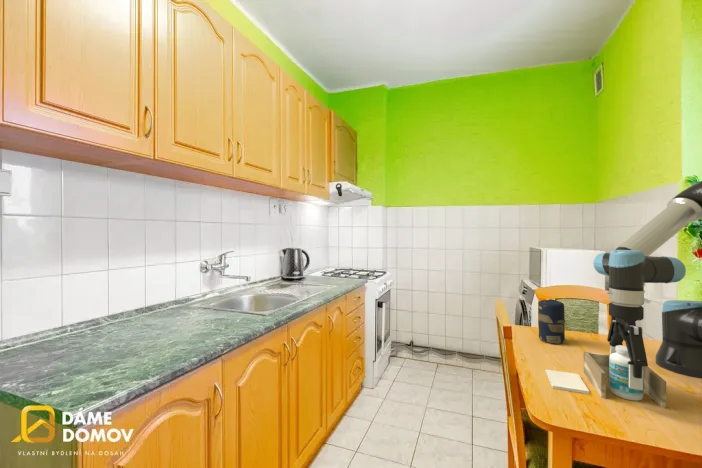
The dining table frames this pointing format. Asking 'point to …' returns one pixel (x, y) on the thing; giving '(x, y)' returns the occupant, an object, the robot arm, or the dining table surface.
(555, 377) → the tile
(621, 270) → the robot arm
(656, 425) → the dining table surface
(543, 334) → the canister
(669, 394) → the dining table surface
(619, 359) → the pill bottle
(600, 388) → the beige three-walled frame
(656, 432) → the dining table surface
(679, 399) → the dining table surface
